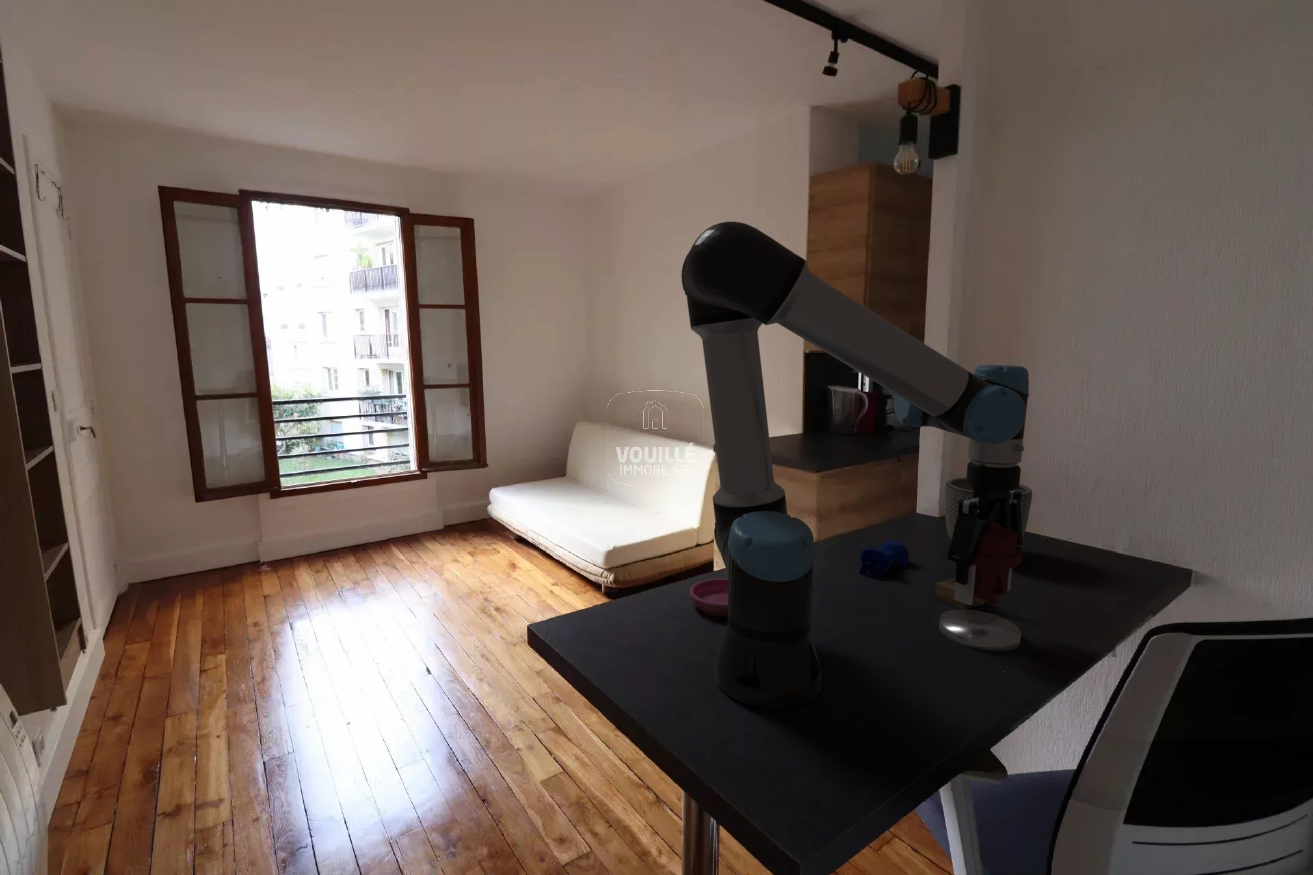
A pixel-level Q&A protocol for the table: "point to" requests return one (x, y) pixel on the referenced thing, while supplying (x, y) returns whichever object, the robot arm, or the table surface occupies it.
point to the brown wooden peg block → (952, 595)
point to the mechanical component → (995, 562)
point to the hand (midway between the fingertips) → (982, 594)
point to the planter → (962, 490)
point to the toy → (883, 558)
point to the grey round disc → (980, 630)
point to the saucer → (711, 596)
